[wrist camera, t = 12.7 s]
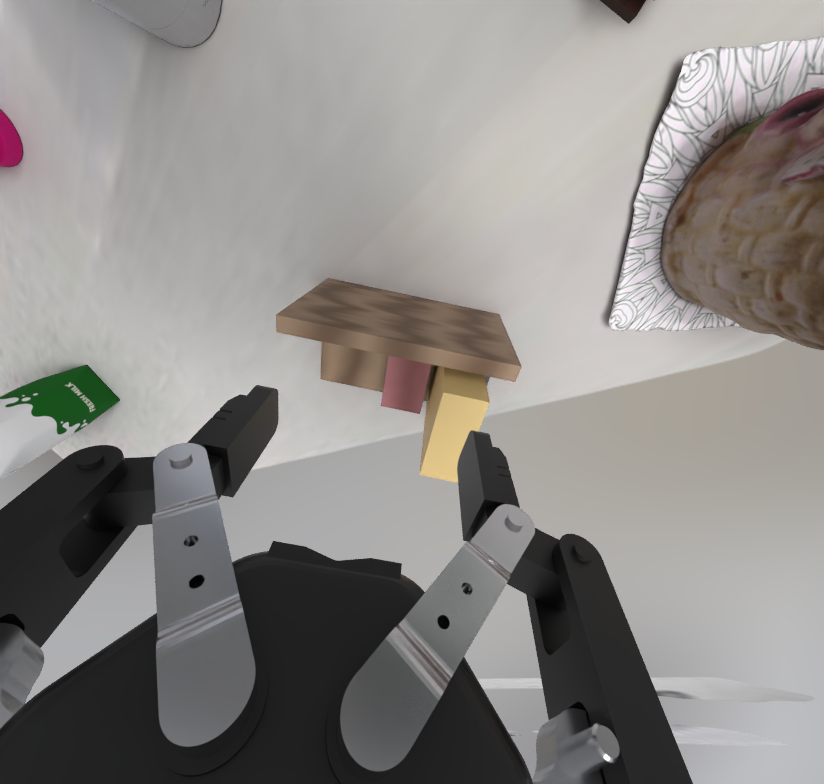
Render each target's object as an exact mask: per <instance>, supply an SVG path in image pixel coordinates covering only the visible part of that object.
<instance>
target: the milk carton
mask: <svg viewBox="0 0 824 784" xmlns="http://www.w3.org/2000/svg"><path fill="white" fill-rule="evenodd" d="M118 401H120V399H119V398H118V397H117V396H116V395H115V394H114V393H113V392H112V391H111V390H110V389H109V388H108V387H107V386H106V385H105V384H104V383H103V382H102V380H101V379H100V378H99V377H98V376H97V375H96V374H95V373H94V372H93V371H92V370H91V369H90V368H89V367H88V366H87V365H85V366H82V367H79V368H75V369H72V370H69V371H65V372H62V373H59V374H55V375H52V376H49V377H45V378H42V379H39V380H37V381H34V382H32V383H29V384H27V385H24V386H22V387H20V388H17V389H15V390H13V391H11V392H9V393H6V394H4V395H2V396H0V479H1V478H3V477H5V476H8V475H10V474H11V473H14V472H15V471H17V470H19V469H21V468H20V467H22V466H23V465H25V464H27V463H29V462H30V461H32V460H34V459H35V458H37V457H38V456H40V455H42V454H43V453H45V452H46V451H48V450H49V449H51V448H53V447H54V446H56V445H57V444H59V443H60V442H62V441H63V440H65V439H67V438H68V437H70V436H71V435H73V434H74V433H76V432H77V431H79V430H81V429H82V428H83V427H85V426H86V425H88V424H89V423H91V422H92V421H93V420H95V419H96V418H97V417H98V416H100V415H101V414H102V413H104V412H105V411H106V410H108V409H109V408H110V407H112V406H113V405H114V404H116V403H117V402H118ZM18 468H19V469H18Z"/></svg>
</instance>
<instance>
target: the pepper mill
mask: <svg viewBox="0 0 824 784" xmlns="http://www.w3.org/2000/svg"><path fill="white" fill-rule="evenodd" d="M22 153H23V152H22V144H21V141H20V138H19V135H18V133H17V132H16V130H15V128H14V126H13V124H12V123H11V122H10V120H9V119H8V118H7V116H6V115H5V114H4V113H3V112H2V111H1V110H0V166H2V167H12V166H15V165H17V164H18V163H19V162H20V160H21V158H22Z"/></svg>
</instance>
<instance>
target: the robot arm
mask: <svg viewBox="0 0 824 784" xmlns="http://www.w3.org/2000/svg"><path fill="white" fill-rule="evenodd" d="M91 1H93V2H95V3H97V4H99V5H101V6H103V7H104V8H106V9H108V10H110V11H112V12H114V13H115V14H117V15H119V16H121V17H123V18H125V19H126V20H128V21H130V22H132V23H133V24H135V25H137V26H139V27H141V28H143V29H144V30H146V31H148V32H150V33H152V34H154V35H156V36H158V37H159V38H161V39H163V40H165V41H167V42H169V43H171V44H173V45H177V46H181V47H193V46H196V45H198V44H201V43H202V42H204V41H205V40H206V39H207V38H208V37H209V36H210V34H211V33H212V31H213V30H214V28H215V26H216V23H217V20H218V17H219V14H220V7H221V0H91ZM277 425H278V390H277V389H274V388H269V387H264V386H259V385H257V386H255V387H254V388H253V389H252V390H251V392H250V393H249V394H248V395H247V396H245V395H238V396H236V397H234V398H232V399H230V400H228V401H227V402H226V403H225V404H224V405H223V406H222V407H221V408H220V411H218V412H217V413H216V414H215V415H214V416H213V418H211V419H210V420H209V421H208V422H207V423H206V424H205V425H204V426H203V427H202V428H201V429H200V430H199V431H198V432H197V433H196V434H195V435H194V436H193V437H192V439H191V440H190V441H189V442H188V443H182V444H177V445H173V446H170V447H168V448H166V449H164V450H163V451H161V452H160V453H159V454H158V455H157V456H156V457H141V458H124V456H123V453H122V451H121V450H120V449H119V448H117V447H114V446H109V445H99V446H92V447H88V448H84V449H81V450H79V451H76V452H74V453H72V454H71V455H69V456H67V457H66V458H65V459H63V460H62V461H61V462H60V463H58V464H57V465H56V466H55V467H53V468H52V469H51V470H50V471H48V472H47V473H46V474H45V475H44V476H42V477H41V478H40V479H38V480H37V481H36V482H35V483H33V484H32V485H31V486H30V487H28V488H27V489H26V490H25V491H23V492H22V493H21V494H20V495H18V496H17V497H16V498H15V499H13V500H12V501H11V502H10V503H8V504H7V505H6V506H5V507H3V508H2V509H1V510H0V784H693V783H692V780H691V778H690V775H689V773H688V770H687V768H686V765H685V763H684V760H683V758H682V755H681V753H680V750H679V748H678V746H677V743H676V741H675V738H674V736H673V733H672V731H671V728H670V726H669V723H668V721H667V718H666V716H665V713H664V711H663V708H662V706H661V703H660V701H659V698H658V696H657V693H656V691H655V689H654V686H653V684H652V681H651V679H650V676H649V674H648V671H647V669H646V666H645V664H644V661H643V659H642V656H641V654H640V652H639V649H638V647H637V644H636V642H635V639H634V637H633V634H632V632H631V629H630V627H629V624H628V622H627V619H626V617H625V614H624V612H623V609H622V607H621V604H620V602H619V599H618V597H617V595H616V592H615V589H614V587H613V585H612V582H611V580H610V577H609V575H608V572H607V570H606V567H605V565H604V562H603V560H602V558H601V556H600V554H599V552H598V551H597V550H596V548H595V547H594V546H593V545H592V544H591V543H589V542H588V541H587V540H586V539H584V538H582V537H580V536H578V535H575V534H566V535H564V536H562V537H561V539H560V540H558V539H556V538H554V537H552V536H550V535H548V534H546V533H544V532H542V531H540V530H538V529H536V528H535V526H534V523H533V521H532V520H531V518H530V517H529V515H528V514H527V513H526V512H524V511H523V510H522V509H520V507H519V503H518V499H517V496H516V492H515V488H514V485H513V481H512V478H511V474H510V471H509V466H508V463H507V459H506V457H505V456H504V454H503V453H502V452H501V450H500V449H499V448H496V447H492V443H491V439H490V435H489V434H488V433H483V432H478V431H473V430H471V431H470V432H469V434H468V436H467V439H466V441H465V444H464V446H463V449H462V451H461V454H460V456H459V460H458V465H457V474H458V485H459V497H460V507H461V520H462V531H463V540H464V541H467V542H466V543H465V544H464V546H463V547H462V548H461V549H460V550H459V552H458V553H457V554H456V556H455V557H454V558H453V559H452V560H451V561H450V563H449V564H448V565H447V566H446V568H445V569H444V570H443V571H442V572H441V574H440V575H439V576H438V577H437V579H436V580H435V581H434V582H433V584H432V585H431V586H430V587H429V588H428V590H427V591H426V592H424V591H423V590H422V589H421V588H420V587H419V586H418V585H417V584H416V583H415V582H413V581H412V580H410V579H409V578H407V577H406V576H404V575H402V574H401V565H402V564H401V563H395V562H390V561H384V560H378V559H372V558H367V559H355V560H343V561H335V560H333V559H331V558H328V557H326V556H324V555H322V554H320V553H318V552H316V551H314V550H311V549H309V548H307V547H304V546H298V545H293V544H287V543H281V542H276V541H273V543H272V545H271V547H270V550H269V551H267V552H260V553H255V554H252V555H248V556H245V557H243V558H241V559H238V560H236V561H234V562H232V560H231V556H230V551H229V546H228V542H227V538H226V533H225V529H224V525H223V519H222V515H221V510H220V506H219V501H218V500H219V498H220V497H221V495H223V496H229V497H234V495H235V494H236V492H237V491H238V489H239V487H240V486H241V484H242V483H243V481H244V480H245V478H246V476H247V475H248V473H249V472H250V470H251V469H252V467H253V466H254V464H255V463H256V461H257V460H258V458H259V457H260V455H261V453H262V452H263V450H264V449H265V447H266V446H267V444H268V443H269V441H270V440H271V438H272V436H273V435H274V433H275V431H276V428H277ZM146 524H153V543H154V564H155V583H156V604H157V613H156V614H154V615H153V616H151V617H150V618H148V619H147V620H145V621H144V622H143V623H141V624H140V625H138V626H137V627H135V628H134V629H132V630H131V631H129V632H128V633H126V634H125V635H123V636H122V637H120V638H119V639H117V640H116V641H114V642H113V643H111V644H110V645H108V646H107V647H105V648H104V649H102V650H101V651H100V652H98V653H97V654H95V655H94V656H92V657H91V658H89V659H88V660H86V661H85V662H83V663H82V664H80V665H79V666H77V667H76V668H74V669H73V670H71V671H70V672H68V673H67V674H66V675H64V676H62V677H61V678H60V679H58V680H57V681H55V682H54V683H52V684H51V685H49V686H48V687H46V688H45V689H44V690H42V691H41V692H40V693H38V694H37V695H36V696H34V697H33V698H32V699H31V700H29V701H28V702H27V703H26V704H25V702H26V699H27V696H28V695H29V693H30V691H31V689H32V686H33V685H34V683H35V681H36V680H37V678H38V677H39V675H40V673H41V670H42V668H43V664H44V654H43V652H42V650H41V649H40V648H41V647H42V645H43V644H44V643H45V642H46V640H47V639H48V638H49V637H50V635H51V634H52V633H53V631H54V630H55V629H56V628H57V626H58V625H59V624H60V623H61V621H62V620H63V619H64V618H65V616H66V615H67V614H68V613H69V611H70V610H71V609H72V608H73V606H74V605H75V604H76V603H77V601H78V600H79V599H80V598H81V596H82V595H83V594H84V593H85V591H86V590H87V589H88V588H89V586H90V585H91V584H92V582H93V581H94V580H95V579H96V577H97V576H98V575H99V574H100V572H101V571H102V570H103V569H104V567H105V566H106V565H107V564H108V562H109V561H110V560H111V558H112V557H113V556H114V555H115V553H116V552H117V551H118V550H119V548H120V547H121V546H122V545H123V543H124V542H125V541H126V539H127V538H128V537H129V536H130V534H131V533H132V532H133V531H134V530H135V528H136V527H137V526H138V525H146ZM506 584H508V585H510V586H512V587H514V588H516V589H518V590H519V591H521V592H523V593H525V594H526V595H527V601H528V606H529V611H530V617H531V623H532V629H533V634H534V639H535V645H536V651H537V657H538V662H539V668H540V674H541V679H542V685H543V690H544V696H545V702H546V707H547V713H548V718H549V721H548V722H546V723H545V724H543V725H542V727H541V728H540V730H539V732H538V735H537V741H536V753H537V763H536V770H535V774H534V777H533V779H532V778H531V776H530V773H529V771H528V768H527V766H526V764H525V761H524V759H523V758H522V755H521V754H520V752H519V750H518V748H517V747H516V745H515V743H514V742H513V740H512V738H511V736H510V735H509V733H508V731H507V730H506V728H505V726H504V724H503V723H502V721H501V719H500V718H499V716H498V714H497V713H496V711H495V709H494V707H493V706H492V704H491V702H490V701H489V699H488V697H487V695H486V694H485V692H484V690H483V689H482V687H481V685H480V683H479V682H478V680H477V679H476V677H475V675H474V673H473V671H472V670H471V668H470V666H469V665H468V663H467V661H466V659H465V658H464V655H465V654H466V652H467V650H468V649H469V647H470V645H471V643H472V642H473V640H474V638H475V637H476V635H477V633H478V632H479V630H480V628H481V626H482V625H483V623H484V621H485V620H486V618H487V616H488V615H489V613H490V611H491V609H492V607H493V606H494V604H495V602H496V601H497V599H498V598H499V596H500V594H501V592H502V591H503V589H504V587H505V586H506Z"/></svg>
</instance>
